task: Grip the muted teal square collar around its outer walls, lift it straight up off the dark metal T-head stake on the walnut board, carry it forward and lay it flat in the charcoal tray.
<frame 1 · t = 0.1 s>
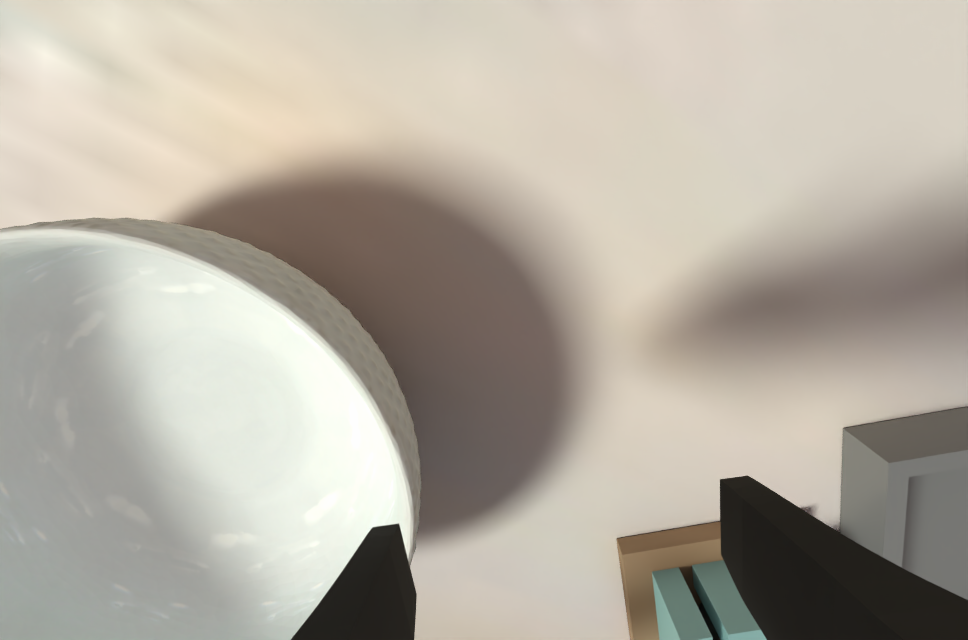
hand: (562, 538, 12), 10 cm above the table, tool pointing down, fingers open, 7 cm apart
stake board: (708, 591, 25), on the table
cereal bowl: (232, 401, 22), on the table
collar: (717, 609, 24), point 1 cm above the table, touching stake board
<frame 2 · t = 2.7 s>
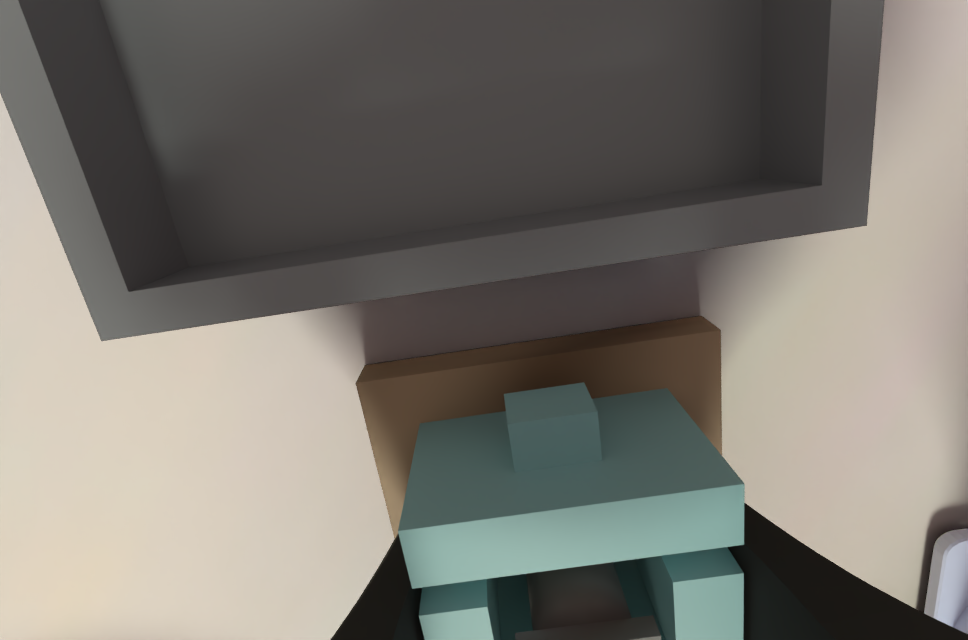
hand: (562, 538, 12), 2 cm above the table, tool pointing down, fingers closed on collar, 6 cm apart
stake board: (550, 483, 13), on the table
collar: (555, 508, 13), point 1 cm above the table, touching gripper, stake board
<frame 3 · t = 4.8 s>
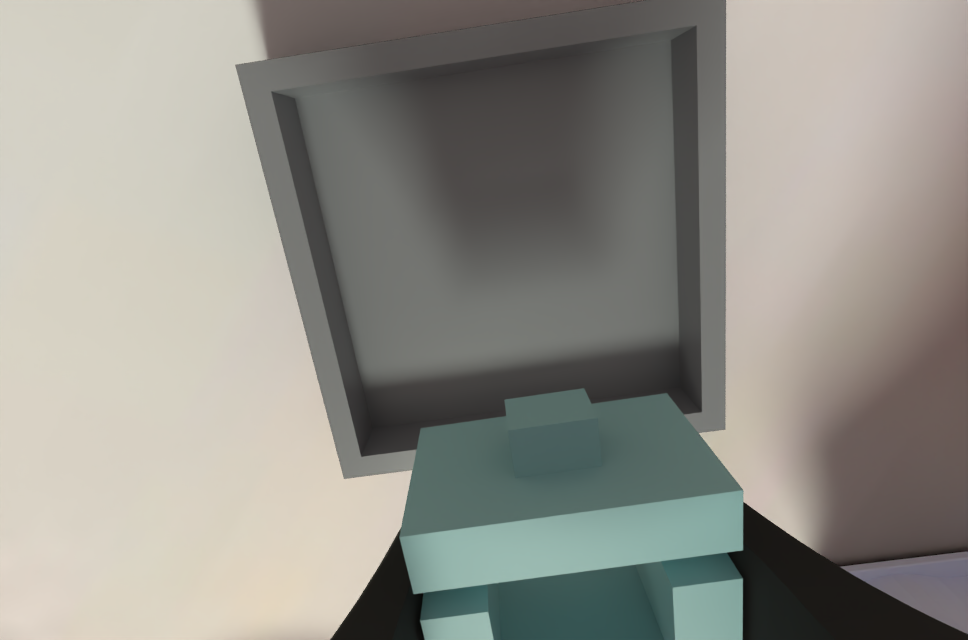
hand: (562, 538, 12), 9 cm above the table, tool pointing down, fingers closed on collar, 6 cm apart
collar: (556, 512, 13), point 8 cm above the table, touching gripper
tray: (504, 252, 19), on the table
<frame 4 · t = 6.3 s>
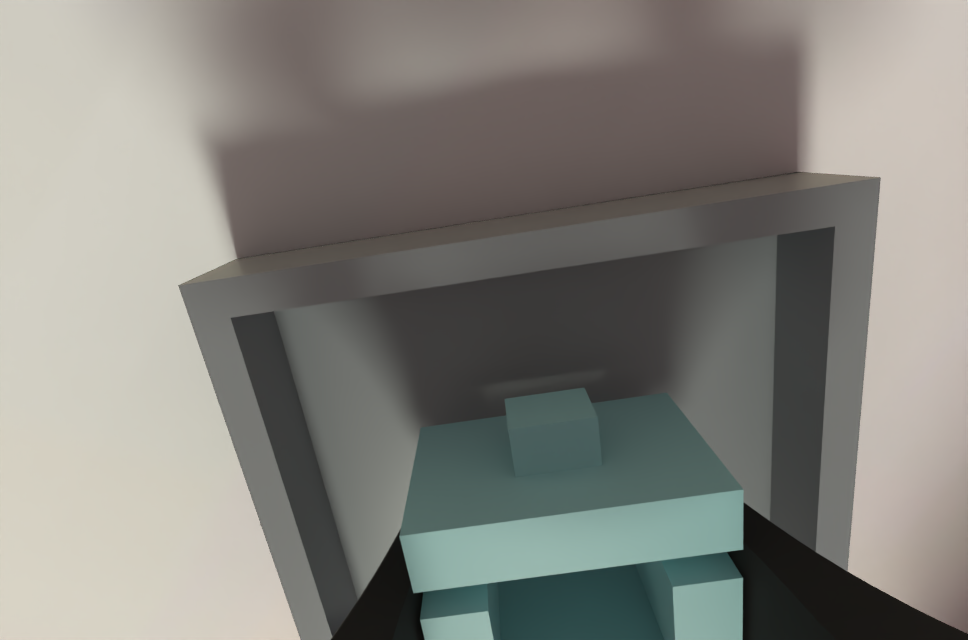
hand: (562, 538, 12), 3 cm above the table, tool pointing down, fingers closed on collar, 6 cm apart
collar: (556, 512, 13), point 2 cm above the table, touching gripper
tray: (544, 459, 15), on the table
when the fingers open (3 cm above the table, at t = 7.2 s): collar drops 1 cm, resting on tray.
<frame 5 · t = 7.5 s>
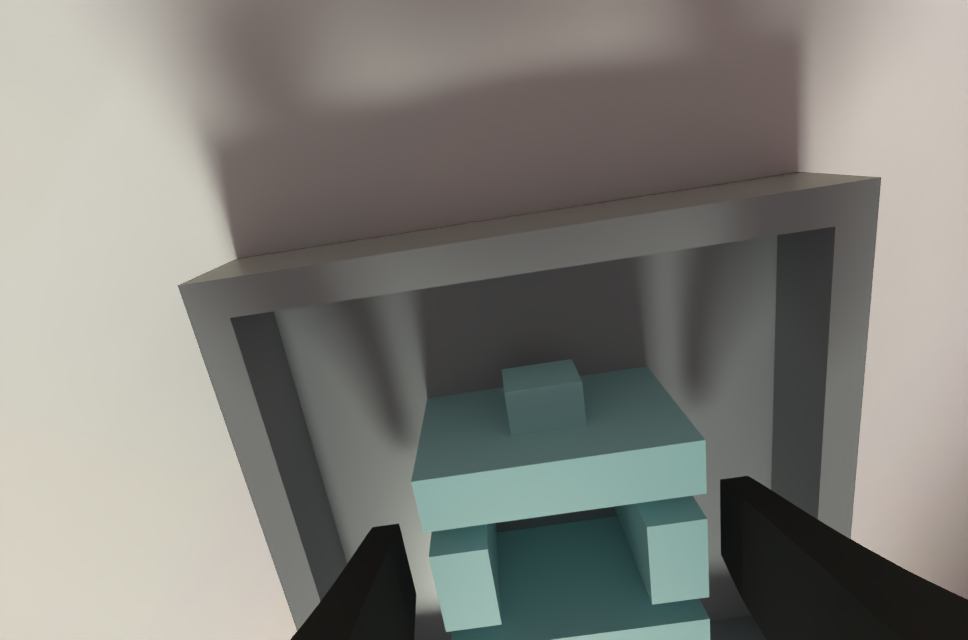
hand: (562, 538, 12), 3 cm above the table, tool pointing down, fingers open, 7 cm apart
collar: (548, 476, 14), point 1 cm above the table, touching tray
tray: (544, 459, 15), on the table
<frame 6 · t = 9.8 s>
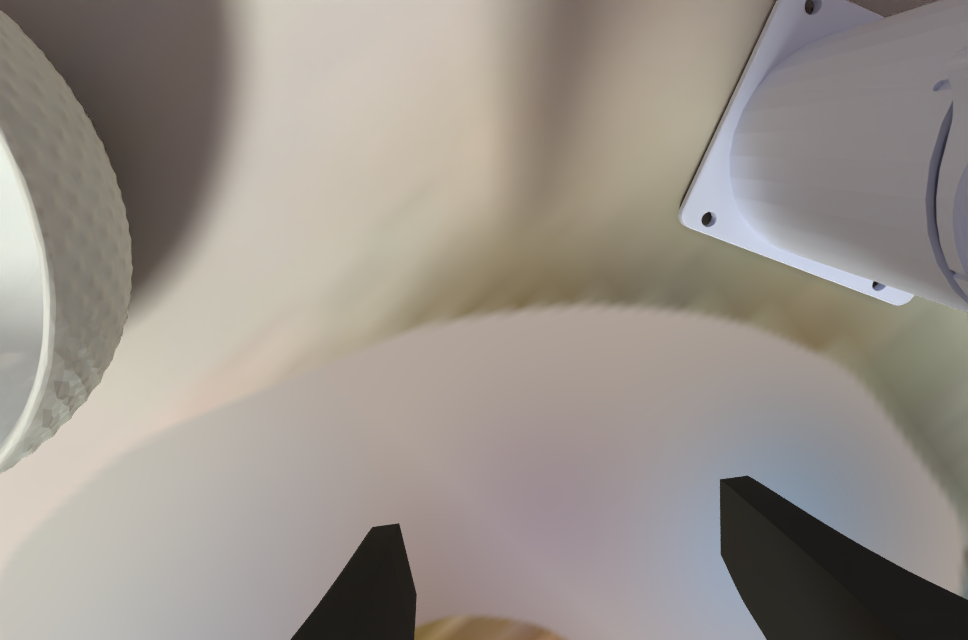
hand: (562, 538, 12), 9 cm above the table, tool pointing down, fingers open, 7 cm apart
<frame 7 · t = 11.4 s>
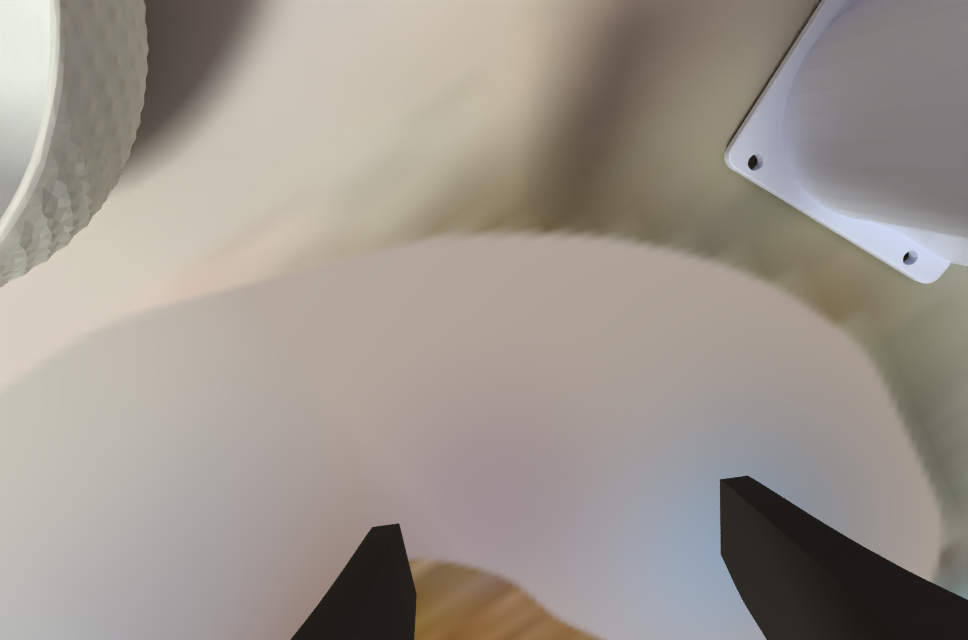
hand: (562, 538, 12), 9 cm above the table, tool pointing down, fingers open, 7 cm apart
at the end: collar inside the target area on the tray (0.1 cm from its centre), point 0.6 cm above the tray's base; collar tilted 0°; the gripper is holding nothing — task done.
